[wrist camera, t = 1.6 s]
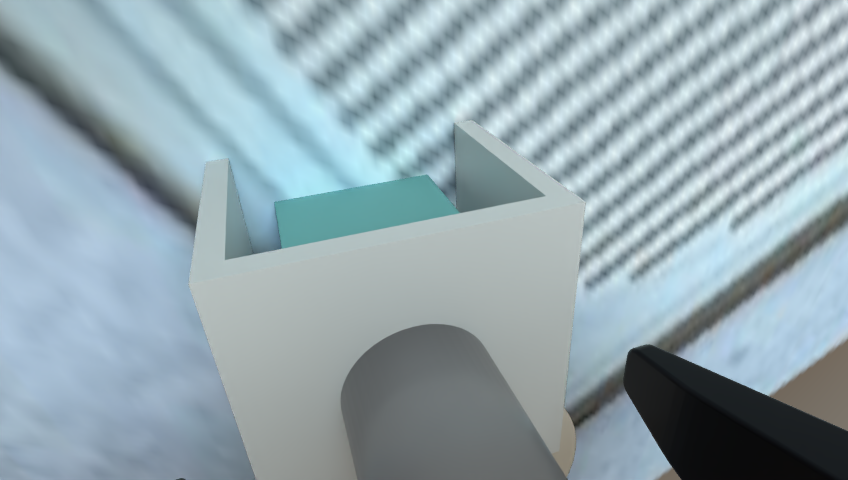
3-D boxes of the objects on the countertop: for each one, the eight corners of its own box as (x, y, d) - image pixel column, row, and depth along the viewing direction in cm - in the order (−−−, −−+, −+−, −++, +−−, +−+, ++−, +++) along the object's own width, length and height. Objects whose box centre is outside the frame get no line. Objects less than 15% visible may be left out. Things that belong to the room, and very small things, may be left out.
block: (433, 294, 16) (485, 385, 13) (302, 325, 15) (321, 432, 12) (426, 173, 14) (485, 242, 11) (274, 200, 13) (287, 286, 10)
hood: (474, 319, 17) (685, 646, 9) (265, 372, 15) (297, 822, 7) (472, 120, 14) (800, 357, 6) (205, 161, 12) (147, 566, 4)
